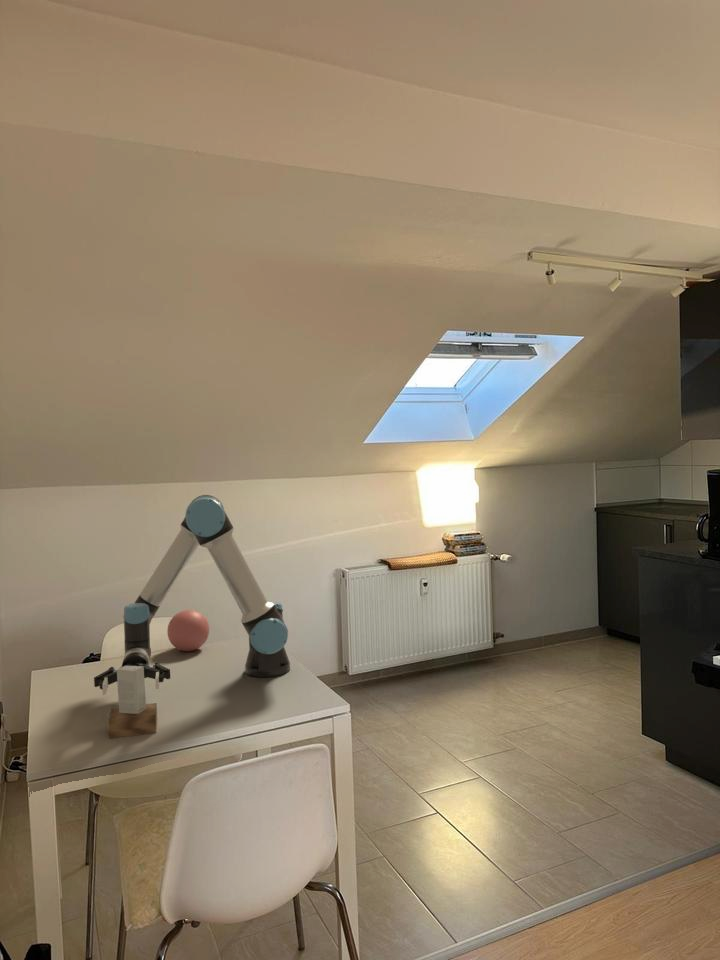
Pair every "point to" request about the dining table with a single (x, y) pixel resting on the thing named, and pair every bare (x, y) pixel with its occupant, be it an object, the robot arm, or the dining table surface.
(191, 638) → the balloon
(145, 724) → the block
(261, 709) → the dining table surface
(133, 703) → the skincare box
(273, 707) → the dining table surface
